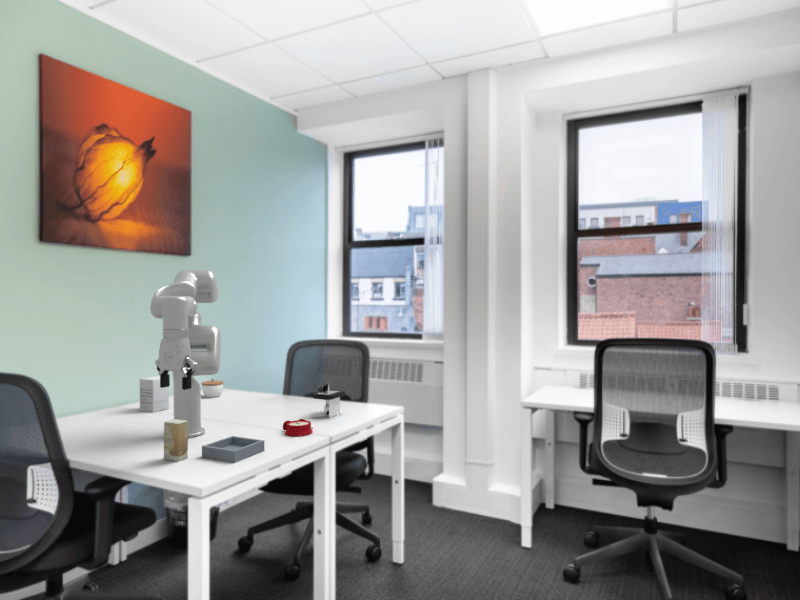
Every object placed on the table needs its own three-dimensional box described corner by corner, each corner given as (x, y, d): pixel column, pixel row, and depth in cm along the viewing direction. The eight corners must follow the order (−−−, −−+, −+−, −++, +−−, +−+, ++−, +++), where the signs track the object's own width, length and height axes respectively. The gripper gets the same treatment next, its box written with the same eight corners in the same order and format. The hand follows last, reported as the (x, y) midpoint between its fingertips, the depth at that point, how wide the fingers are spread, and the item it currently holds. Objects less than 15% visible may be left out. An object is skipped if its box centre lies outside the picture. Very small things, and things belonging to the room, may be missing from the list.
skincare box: (163, 459, 168) (162, 421, 168) (173, 455, 172) (173, 418, 172) (178, 461, 166) (178, 423, 166) (188, 458, 170) (188, 420, 170)
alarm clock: (290, 429, 193) (279, 412, 206) (289, 445, 194) (278, 427, 207) (317, 425, 198) (305, 409, 211) (316, 441, 199) (304, 424, 212)
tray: (201, 456, 171) (201, 446, 171) (232, 445, 184) (232, 435, 184) (234, 462, 165) (234, 451, 165) (264, 450, 178) (264, 440, 178)
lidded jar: (227, 395, 280) (227, 377, 280) (217, 398, 270) (217, 380, 270) (208, 394, 282) (208, 377, 282) (197, 398, 271) (197, 380, 271)
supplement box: (155, 407, 249) (155, 375, 249) (169, 409, 245) (169, 377, 245) (138, 411, 241) (138, 378, 241) (152, 413, 237) (152, 379, 237)
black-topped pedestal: (320, 406, 251) (319, 378, 250) (368, 411, 240) (368, 382, 240) (283, 419, 225) (283, 388, 225) (336, 425, 214) (336, 392, 214)
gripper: (146, 334, 169) (146, 388, 169) (185, 336, 162) (186, 391, 162) (166, 333, 176) (166, 384, 176) (204, 334, 169) (204, 388, 169)
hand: (175, 388), depth 169 cm, fingers open, 9 cm apart
